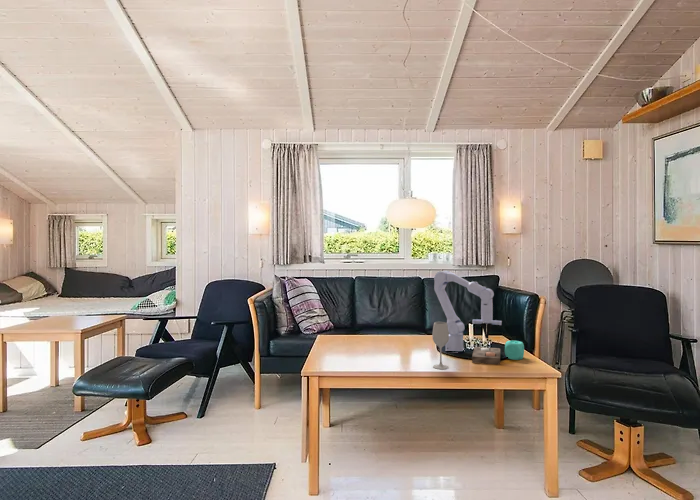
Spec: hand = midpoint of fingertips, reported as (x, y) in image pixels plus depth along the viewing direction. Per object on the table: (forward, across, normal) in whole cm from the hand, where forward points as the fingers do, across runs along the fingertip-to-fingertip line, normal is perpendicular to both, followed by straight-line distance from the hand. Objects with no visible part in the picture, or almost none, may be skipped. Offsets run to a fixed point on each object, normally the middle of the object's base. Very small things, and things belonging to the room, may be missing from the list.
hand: (486, 338), depth 233 cm
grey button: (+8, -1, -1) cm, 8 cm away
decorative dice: (+9, +14, -2) cm, 16 cm away
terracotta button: (+8, +2, -12) cm, 14 cm away
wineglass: (+9, -19, -30) cm, 37 cm away
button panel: (+9, 0, -7) cm, 11 cm away
